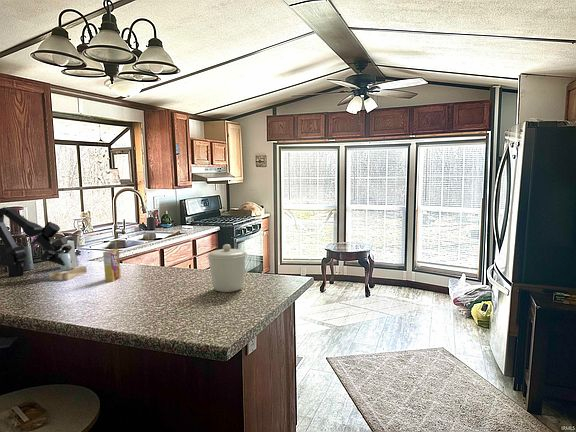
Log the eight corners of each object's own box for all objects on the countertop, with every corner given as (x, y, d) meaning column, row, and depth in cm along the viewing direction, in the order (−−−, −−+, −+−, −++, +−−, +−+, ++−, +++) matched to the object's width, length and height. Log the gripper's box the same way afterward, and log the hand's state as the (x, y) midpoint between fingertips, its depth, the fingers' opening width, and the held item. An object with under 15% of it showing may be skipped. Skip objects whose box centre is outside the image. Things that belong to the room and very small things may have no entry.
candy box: (113, 277, 211) (111, 248, 209) (121, 277, 210) (119, 248, 209) (104, 281, 202) (102, 251, 200) (112, 281, 201) (111, 251, 200)
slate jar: (62, 277, 211) (60, 255, 210) (60, 276, 215) (58, 254, 214) (72, 276, 214) (71, 254, 213) (70, 274, 218) (69, 252, 217)
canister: (240, 296, 174) (239, 248, 172) (201, 294, 178) (199, 247, 175) (252, 284, 192) (251, 241, 189) (216, 283, 195) (215, 240, 193)
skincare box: (76, 266, 238) (74, 240, 236) (65, 268, 232) (63, 242, 230) (68, 265, 242) (67, 239, 240) (57, 267, 236) (55, 241, 235)
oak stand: (49, 279, 207) (49, 273, 207) (69, 272, 223) (69, 266, 223) (68, 280, 206) (67, 273, 206) (86, 272, 222) (86, 266, 222)
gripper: (43, 235, 204) (65, 257, 204) (67, 230, 222) (87, 250, 222) (30, 250, 205) (52, 272, 205) (55, 244, 224) (75, 264, 224)
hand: (67, 264), depth 214 cm, fingers closed on slate jar, 5 cm apart
